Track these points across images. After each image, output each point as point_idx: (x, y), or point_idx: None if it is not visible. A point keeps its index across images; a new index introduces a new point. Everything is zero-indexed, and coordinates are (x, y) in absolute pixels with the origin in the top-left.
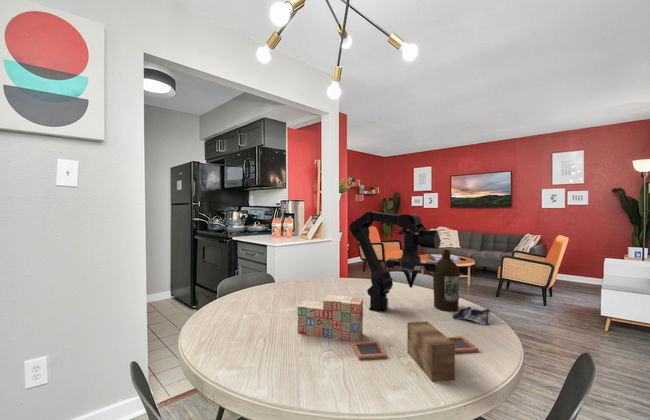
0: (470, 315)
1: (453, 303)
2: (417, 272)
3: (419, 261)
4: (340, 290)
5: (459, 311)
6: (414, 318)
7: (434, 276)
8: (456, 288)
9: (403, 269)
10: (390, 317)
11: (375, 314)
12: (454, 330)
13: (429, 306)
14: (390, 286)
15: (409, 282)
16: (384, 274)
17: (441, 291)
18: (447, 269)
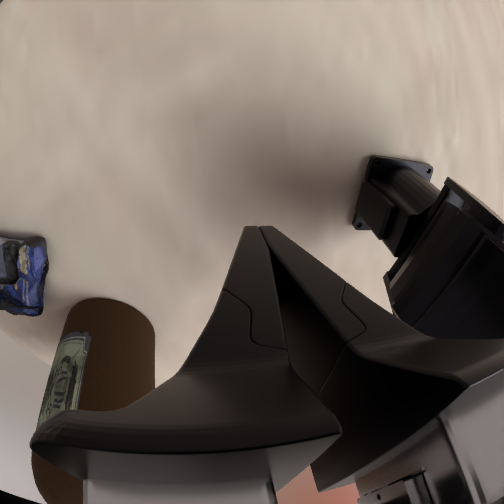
0: (10, 286)
1: (64, 332)
2: (91, 413)
3: None
4: None
5: (42, 297)
6: (204, 141)
7: None
8: (44, 394)
9: (499, 388)
10: (334, 102)
11: (404, 119)
12: (6, 99)
13: (170, 318)
14: (408, 280)
15: (289, 253)
16: (499, 321)
17: (98, 372)
18: (59, 486)
